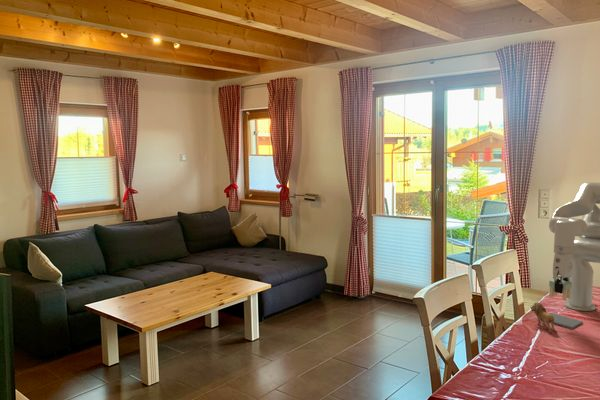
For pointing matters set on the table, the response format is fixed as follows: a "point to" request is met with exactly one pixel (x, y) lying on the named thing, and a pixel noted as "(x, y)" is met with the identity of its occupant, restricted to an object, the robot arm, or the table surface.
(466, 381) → the table surface
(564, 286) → the sage stool
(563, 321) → the charcoal mat
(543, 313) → the lion figurine
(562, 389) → the table surface
